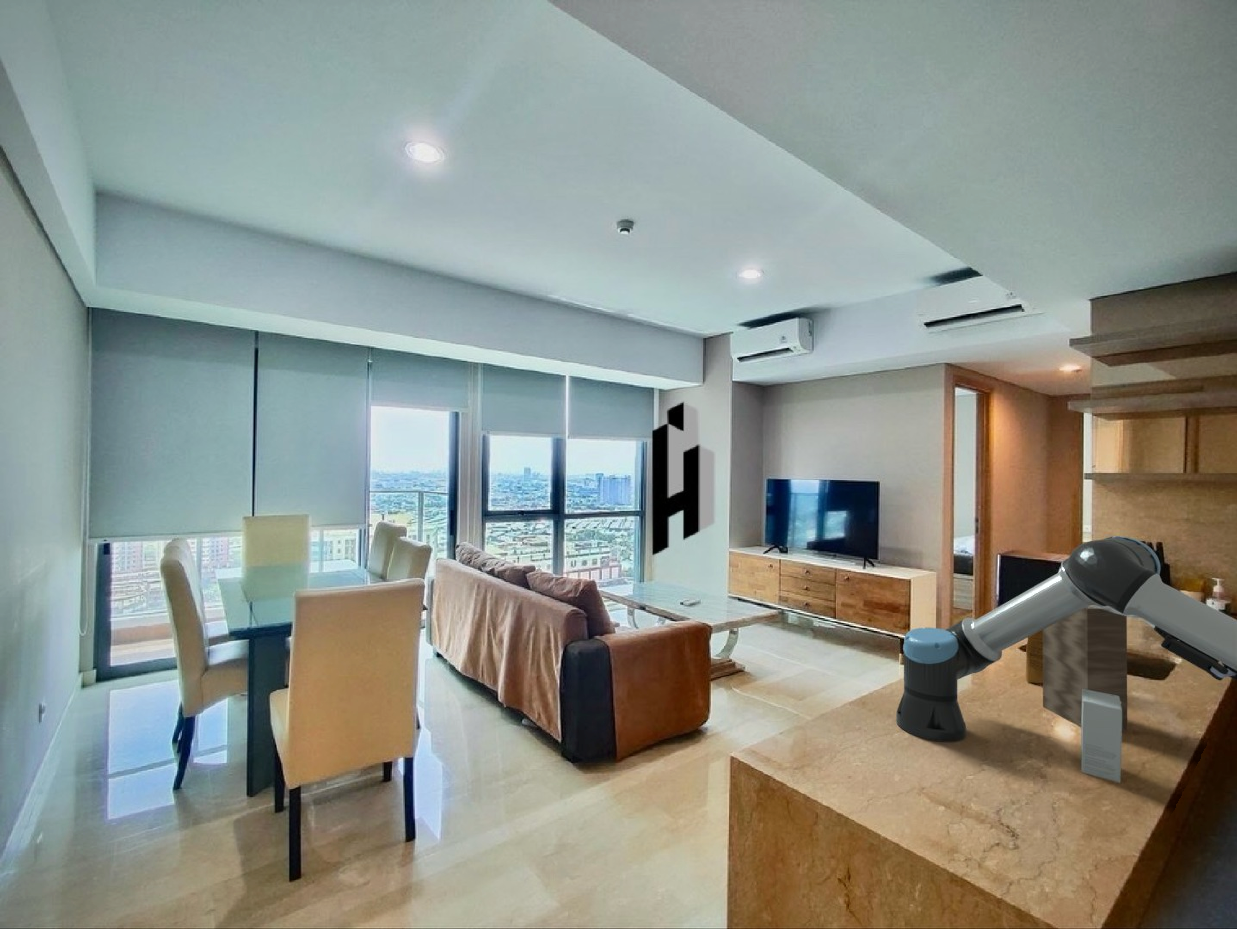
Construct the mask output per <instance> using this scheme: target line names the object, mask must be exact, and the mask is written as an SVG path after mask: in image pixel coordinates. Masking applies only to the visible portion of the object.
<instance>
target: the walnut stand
mask: <svg viewBox="0 0 1237 929" xmlns="http://www.w3.org/2000/svg"><path fill="white" fill-rule="evenodd" d="M1127 621H1128V616H1124V615H1120V614H1117V613H1113V612H1110V611H1106V610H1102V609H1099V608H1095V607H1092V606H1088V607H1086V608H1084V609H1082V610H1080V611H1078V612H1077V613H1075V614H1073V615H1071V616H1069V617H1067V618H1065V619H1063V620H1061V621H1059V622H1057V623H1055V624H1053V625H1051V626H1049V627H1047V628H1045V629H1043V684H1042V707H1043V708H1045V709H1046V710H1048V711H1050V712H1052V713H1054V714H1055V715H1057V716H1060V717H1061V718H1063V719H1066V720H1067V721H1069V722H1071V723H1072V724H1075V725H1077V726H1079V727H1080V728H1081V714H1082V689H1086V690H1091V691H1096V692H1101V693H1106V694H1111V695H1116V696H1119V698H1120V701H1121V702H1122V703H1121V708H1122V731H1128V642H1127V641H1128V638H1127V637H1128V628H1127V627H1128V624H1127V623H1128V622H1127Z"/></svg>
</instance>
